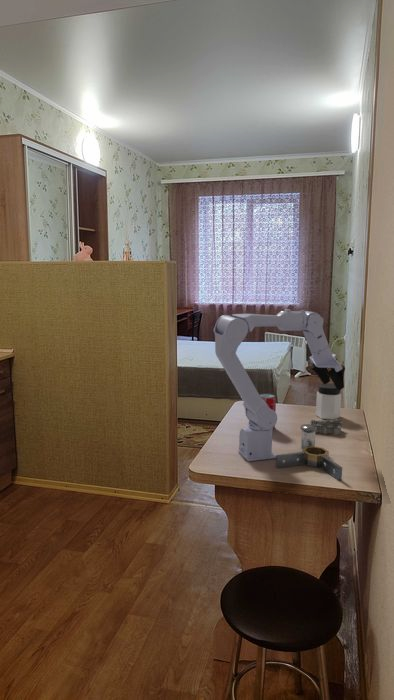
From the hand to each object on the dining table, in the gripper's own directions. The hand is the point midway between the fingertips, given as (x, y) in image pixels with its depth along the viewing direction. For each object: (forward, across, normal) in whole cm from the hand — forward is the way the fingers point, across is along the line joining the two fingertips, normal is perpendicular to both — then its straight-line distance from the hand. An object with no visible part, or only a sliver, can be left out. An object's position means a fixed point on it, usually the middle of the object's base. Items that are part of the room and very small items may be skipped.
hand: (333, 385), depth 156 cm
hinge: (+11, -15, +23) cm, 30 cm away
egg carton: (+22, +14, +3) cm, 26 cm away
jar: (+26, +28, -7) cm, 38 cm away
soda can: (+13, +22, +20) cm, 32 cm away
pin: (+14, 0, +16) cm, 21 cm away
